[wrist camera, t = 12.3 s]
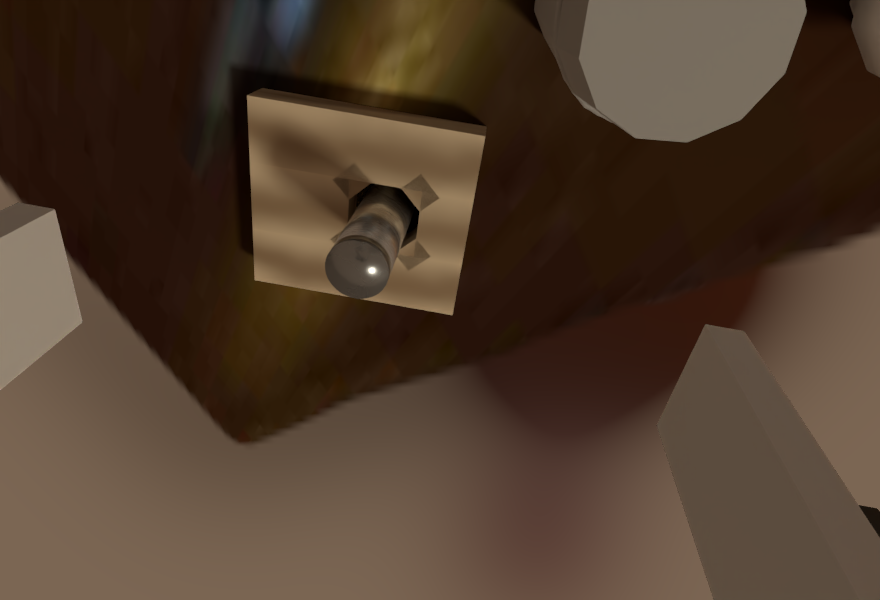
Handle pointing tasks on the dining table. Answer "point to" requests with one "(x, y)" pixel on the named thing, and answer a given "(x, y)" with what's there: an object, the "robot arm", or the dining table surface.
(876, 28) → the potted plant
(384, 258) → the grey metallic cylinder
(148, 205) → the dining table surface
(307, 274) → the jig
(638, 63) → the water bottle
